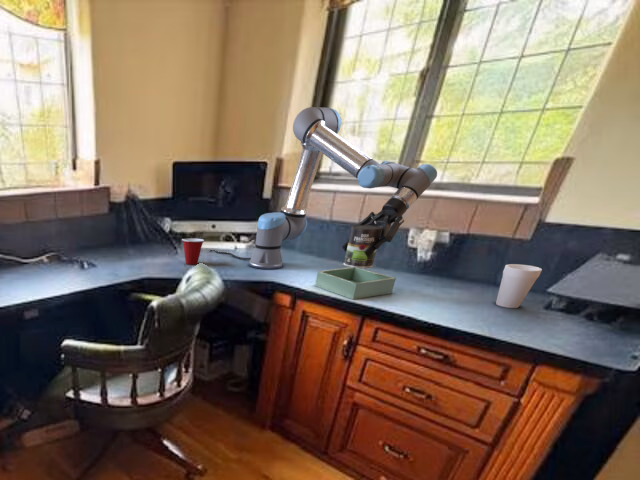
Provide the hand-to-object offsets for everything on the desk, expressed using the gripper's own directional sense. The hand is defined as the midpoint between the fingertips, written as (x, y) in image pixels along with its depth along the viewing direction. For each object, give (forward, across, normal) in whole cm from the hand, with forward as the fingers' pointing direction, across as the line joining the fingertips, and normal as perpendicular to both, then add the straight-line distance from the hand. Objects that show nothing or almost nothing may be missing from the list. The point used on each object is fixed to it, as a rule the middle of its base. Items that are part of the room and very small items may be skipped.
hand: (355, 251), depth 158 cm
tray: (+8, 0, -12) cm, 15 cm away
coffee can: (+2, 0, -6) cm, 6 cm away
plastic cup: (+35, +66, +14) cm, 76 cm away
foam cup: (-15, -36, -36) cm, 53 cm away
